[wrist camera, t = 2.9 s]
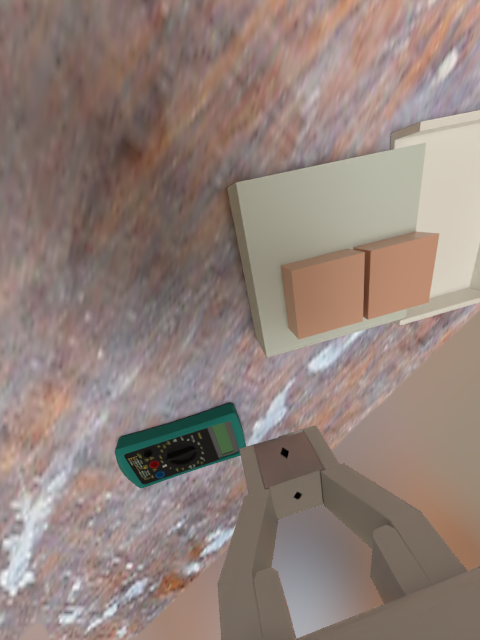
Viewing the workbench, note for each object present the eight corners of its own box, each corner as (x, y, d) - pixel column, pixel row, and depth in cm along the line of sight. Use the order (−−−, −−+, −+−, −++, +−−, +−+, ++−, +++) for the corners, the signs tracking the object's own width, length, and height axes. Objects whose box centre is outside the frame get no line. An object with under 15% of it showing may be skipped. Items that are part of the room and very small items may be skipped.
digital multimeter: (113, 435, 29) (106, 457, 26) (233, 398, 30) (237, 416, 28) (137, 472, 32) (133, 495, 29) (244, 437, 33) (249, 456, 31)
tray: (391, 133, 21) (420, 121, 19) (509, 109, 22) (553, 95, 20) (379, 315, 29) (399, 325, 26) (468, 290, 30) (495, 297, 28)
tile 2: (280, 265, 20) (291, 270, 18) (347, 248, 20) (364, 252, 18) (288, 328, 22) (298, 339, 20) (347, 312, 23) (362, 321, 21)
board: (227, 188, 20) (235, 182, 17) (386, 154, 22) (426, 142, 18) (256, 338, 27) (266, 357, 23) (377, 304, 28) (405, 317, 25)
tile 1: (353, 247, 20) (370, 250, 19) (415, 231, 21) (439, 233, 19) (352, 310, 23) (367, 319, 21) (408, 295, 24) (428, 302, 22)
